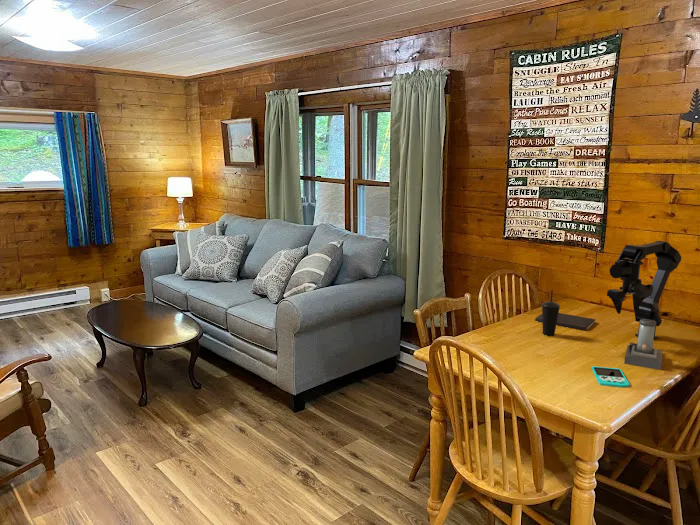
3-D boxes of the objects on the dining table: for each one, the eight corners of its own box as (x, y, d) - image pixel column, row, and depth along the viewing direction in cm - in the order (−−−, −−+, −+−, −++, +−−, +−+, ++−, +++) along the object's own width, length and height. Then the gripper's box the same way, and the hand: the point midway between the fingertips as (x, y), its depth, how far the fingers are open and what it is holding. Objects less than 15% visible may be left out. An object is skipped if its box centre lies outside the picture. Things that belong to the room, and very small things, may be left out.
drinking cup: (538, 336, 234) (542, 291, 230) (539, 330, 240) (543, 287, 237) (557, 338, 231) (561, 293, 227) (558, 333, 238) (561, 289, 234)
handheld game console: (598, 386, 184) (599, 382, 183) (590, 368, 199) (590, 365, 198) (630, 389, 181) (631, 385, 181) (620, 371, 196) (620, 368, 196)
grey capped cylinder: (636, 350, 208) (640, 318, 205) (652, 353, 205) (656, 320, 203) (635, 357, 201) (639, 323, 198) (651, 359, 198) (656, 326, 196)
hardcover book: (546, 315, 267) (546, 310, 267) (595, 323, 253) (595, 319, 253) (534, 322, 255) (535, 317, 254) (586, 332, 241) (586, 327, 240)
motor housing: (627, 347, 220) (629, 334, 219) (661, 353, 214) (663, 339, 213) (624, 363, 203) (625, 349, 202) (660, 369, 197) (662, 355, 196)
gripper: (630, 281, 210) (626, 320, 213) (665, 278, 216) (660, 315, 219) (607, 275, 220) (604, 312, 223) (641, 272, 227) (637, 308, 230)
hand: (627, 312), depth 224 cm, fingers open, 9 cm apart
